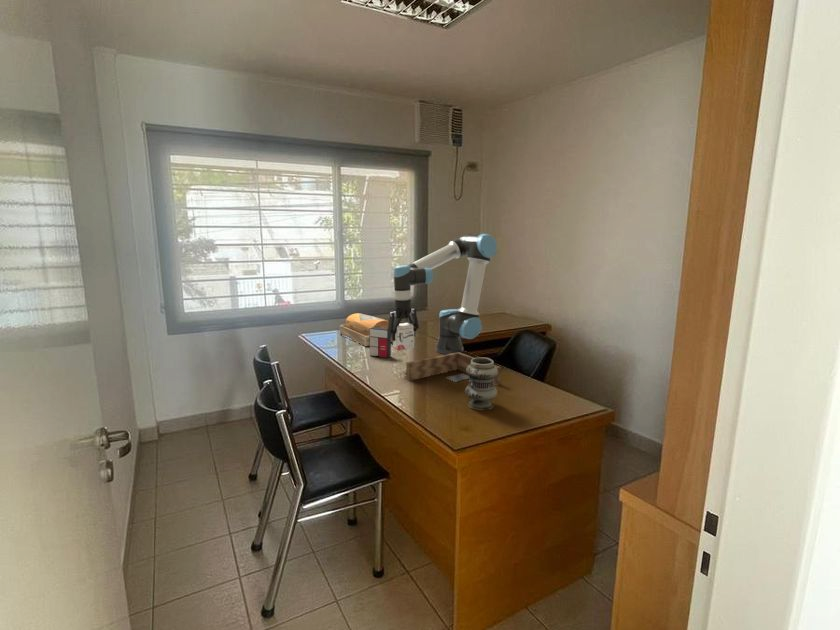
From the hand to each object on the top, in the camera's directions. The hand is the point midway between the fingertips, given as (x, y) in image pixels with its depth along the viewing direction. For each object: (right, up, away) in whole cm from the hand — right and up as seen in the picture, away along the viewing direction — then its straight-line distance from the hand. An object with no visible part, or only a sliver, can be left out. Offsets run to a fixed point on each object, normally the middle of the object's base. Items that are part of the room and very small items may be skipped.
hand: (403, 345), depth 208 cm
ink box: (0, -2, 0) cm, 2 cm away
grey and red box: (-13, -8, +22) cm, 27 cm away
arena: (+22, -15, -16) cm, 31 cm away
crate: (-24, 0, +60) cm, 64 cm away
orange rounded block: (-23, 0, +59) cm, 64 cm away
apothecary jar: (+31, -20, -41) cm, 55 cm away
